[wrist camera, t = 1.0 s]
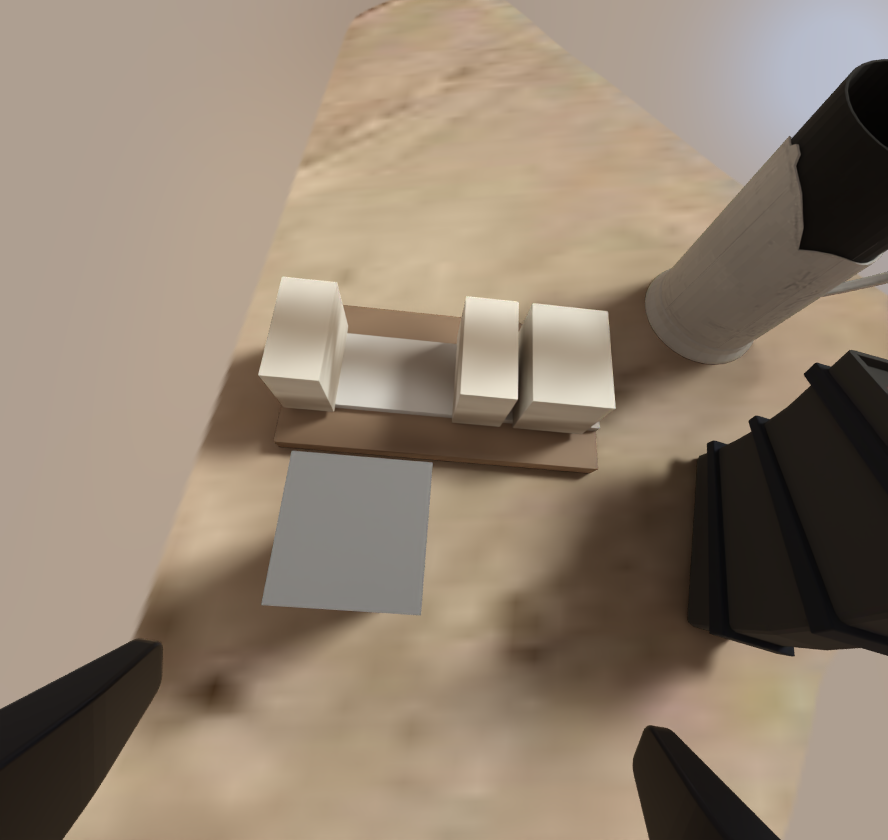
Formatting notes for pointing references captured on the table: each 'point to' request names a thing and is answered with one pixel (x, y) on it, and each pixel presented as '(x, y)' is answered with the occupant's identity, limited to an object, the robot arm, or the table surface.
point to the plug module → (351, 534)
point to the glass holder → (786, 231)
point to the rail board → (439, 380)
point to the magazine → (799, 520)
